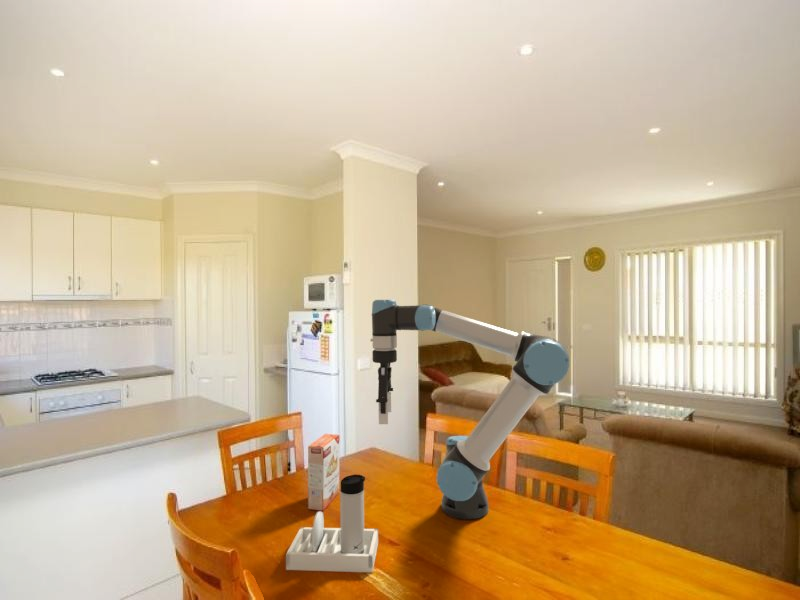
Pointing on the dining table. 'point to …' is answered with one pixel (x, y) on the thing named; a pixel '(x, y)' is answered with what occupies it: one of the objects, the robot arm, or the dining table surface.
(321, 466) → the cracker box
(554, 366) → the robot arm
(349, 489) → the travel mug
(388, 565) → the dining table surface
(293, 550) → the rack
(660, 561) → the dining table surface
